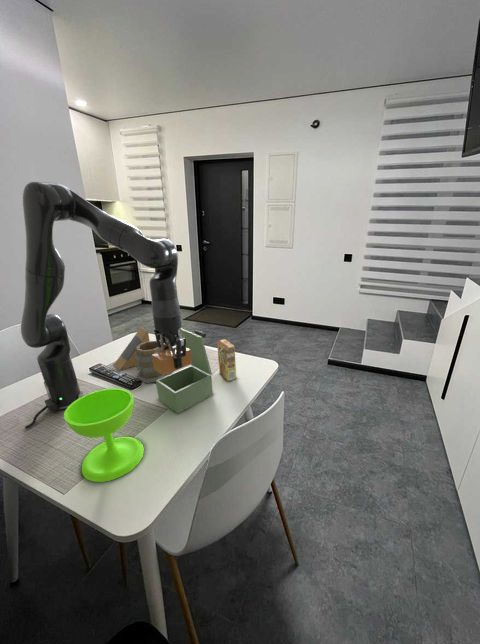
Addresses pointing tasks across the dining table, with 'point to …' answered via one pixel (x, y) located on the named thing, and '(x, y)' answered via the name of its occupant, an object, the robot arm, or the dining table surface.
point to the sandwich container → (132, 350)
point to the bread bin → (184, 388)
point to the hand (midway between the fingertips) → (173, 364)
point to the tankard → (147, 362)
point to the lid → (197, 349)
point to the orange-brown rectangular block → (169, 361)
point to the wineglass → (105, 433)
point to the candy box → (226, 359)
